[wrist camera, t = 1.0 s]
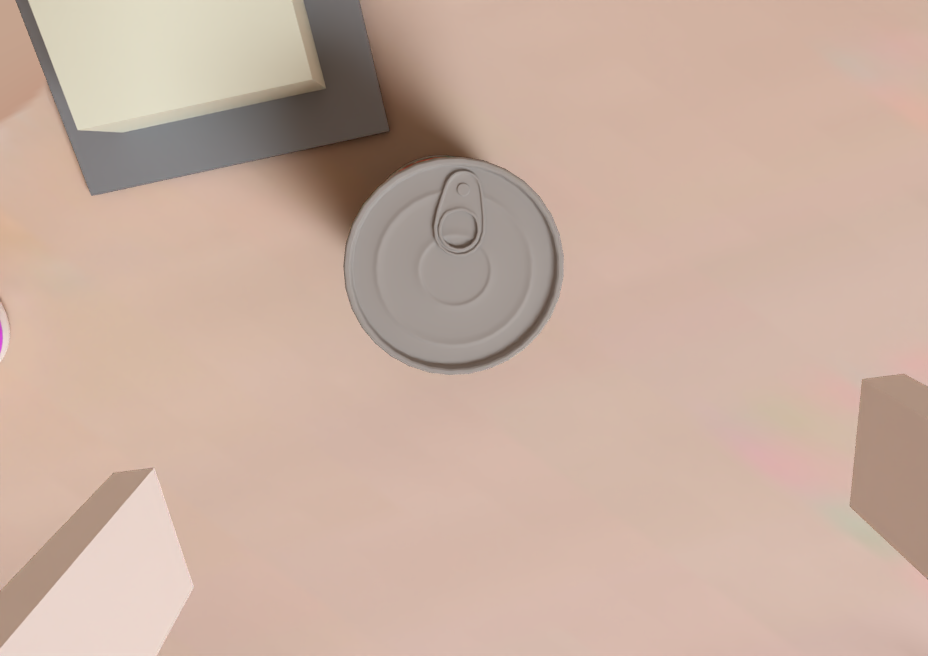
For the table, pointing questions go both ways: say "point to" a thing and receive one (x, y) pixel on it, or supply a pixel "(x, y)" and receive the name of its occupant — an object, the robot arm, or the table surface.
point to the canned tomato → (453, 265)
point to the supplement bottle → (4, 332)
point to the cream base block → (175, 57)
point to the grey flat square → (238, 113)
